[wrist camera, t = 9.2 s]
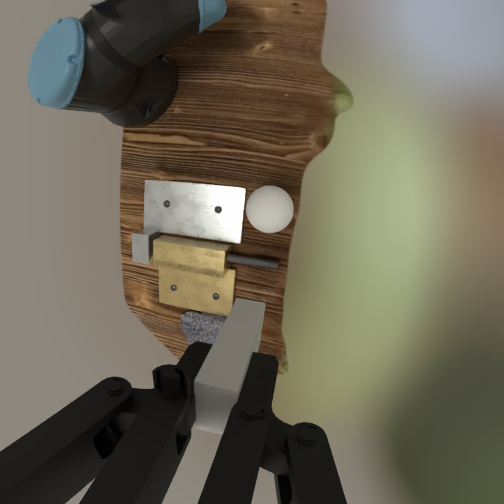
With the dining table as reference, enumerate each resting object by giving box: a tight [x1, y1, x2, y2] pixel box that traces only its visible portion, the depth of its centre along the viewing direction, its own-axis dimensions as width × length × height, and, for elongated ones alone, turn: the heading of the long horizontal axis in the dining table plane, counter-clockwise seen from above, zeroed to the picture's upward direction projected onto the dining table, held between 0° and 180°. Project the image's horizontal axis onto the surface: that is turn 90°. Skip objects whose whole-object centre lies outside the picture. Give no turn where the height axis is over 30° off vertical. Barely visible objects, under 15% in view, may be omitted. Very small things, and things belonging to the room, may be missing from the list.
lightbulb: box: [246, 185, 294, 233], centre depth 40 cm, size 6×6×11 cm
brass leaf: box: [153, 233, 237, 317], centre depth 49 cm, size 13×14×5 cm
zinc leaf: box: [132, 179, 279, 270], centre depth 46 cm, size 13×24×5 cm, turn 84°
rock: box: [181, 311, 227, 345], centre depth 53 cm, size 12×5×10 cm
